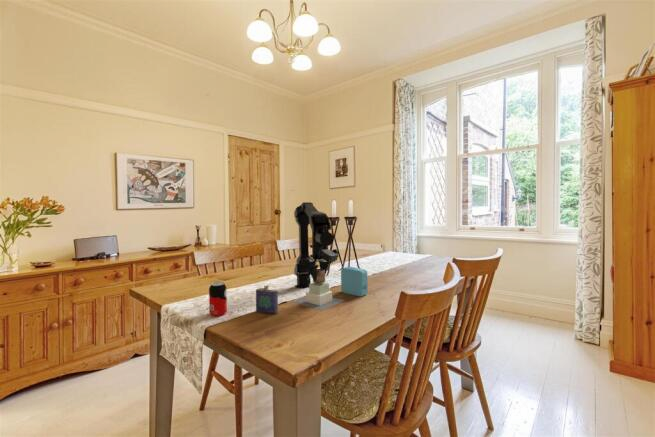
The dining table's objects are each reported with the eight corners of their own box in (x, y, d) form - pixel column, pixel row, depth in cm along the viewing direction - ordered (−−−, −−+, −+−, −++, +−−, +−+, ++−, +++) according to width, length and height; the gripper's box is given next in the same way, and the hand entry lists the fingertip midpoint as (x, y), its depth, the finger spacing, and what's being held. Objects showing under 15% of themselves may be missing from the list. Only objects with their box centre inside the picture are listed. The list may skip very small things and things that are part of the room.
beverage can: (217, 318, 113) (216, 286, 112) (206, 315, 116) (205, 284, 116) (230, 313, 119) (229, 282, 118) (219, 310, 122) (218, 280, 121)
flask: (279, 312, 119) (278, 285, 119) (275, 314, 116) (275, 287, 116) (257, 310, 122) (257, 283, 121) (254, 312, 119) (253, 285, 118)
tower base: (305, 301, 130) (305, 292, 130) (318, 297, 137) (318, 288, 136) (320, 305, 125) (320, 296, 125) (332, 300, 132) (332, 291, 131)
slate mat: (292, 303, 130) (292, 302, 130) (317, 294, 142) (317, 293, 142) (321, 311, 120) (321, 310, 120) (345, 301, 132) (345, 300, 132)
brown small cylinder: (310, 281, 130) (310, 270, 130) (318, 279, 134) (318, 268, 134) (319, 283, 127) (319, 272, 127) (327, 281, 131) (327, 269, 131)
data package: (367, 295, 140) (367, 269, 140) (362, 297, 137) (362, 271, 136) (346, 290, 148) (346, 266, 147) (340, 292, 145) (340, 267, 144)
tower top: (309, 292, 130) (309, 284, 130) (318, 289, 135) (318, 281, 135) (319, 295, 127) (319, 286, 126) (328, 291, 131) (328, 283, 131)
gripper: (318, 247, 117) (318, 287, 118) (347, 242, 132) (347, 277, 133) (298, 244, 124) (298, 282, 125) (327, 240, 139) (327, 274, 140)
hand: (319, 279), depth 130 cm, fingers closed on brown small cylinder, 5 cm apart
